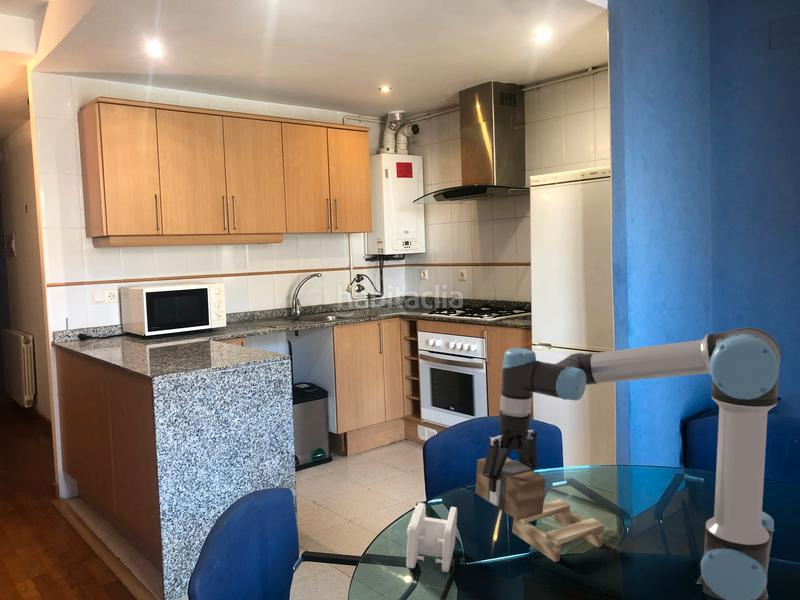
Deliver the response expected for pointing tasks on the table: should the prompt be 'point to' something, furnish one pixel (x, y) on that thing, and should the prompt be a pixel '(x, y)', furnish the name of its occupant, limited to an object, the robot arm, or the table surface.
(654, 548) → the table surface
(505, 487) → the wooden block with band
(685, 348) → the robot arm
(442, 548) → the cable organizer
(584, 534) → the wooden bar frame
